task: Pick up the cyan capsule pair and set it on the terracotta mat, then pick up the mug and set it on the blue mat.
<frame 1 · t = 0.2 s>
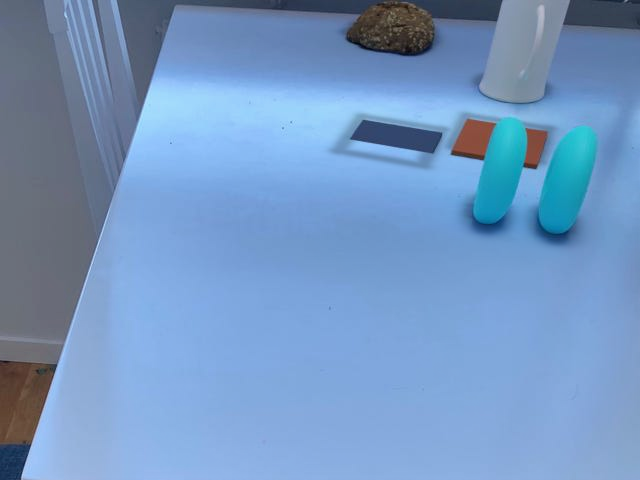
mug: (510, 97, 125), on the table
terracotta mat: (499, 144, 114), on the table
bread roll: (389, 41, 140), on the table
blue mat: (391, 147, 113), on the table
cyan capsule pair: (517, 227, 100), on the table
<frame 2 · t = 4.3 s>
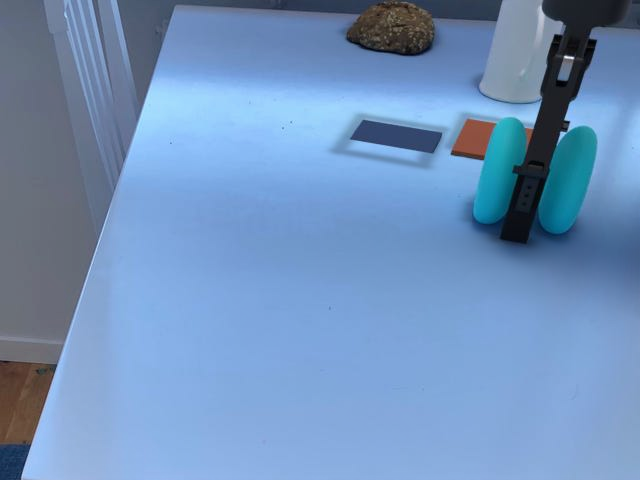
hand: (520, 217, 99), 1 cm above the table, tool pointing down, fingers closed on cyan capsule pair, 10 cm apart
cyan capsule pair: (517, 227, 100), on the table, touching gripper
everything else where it was.
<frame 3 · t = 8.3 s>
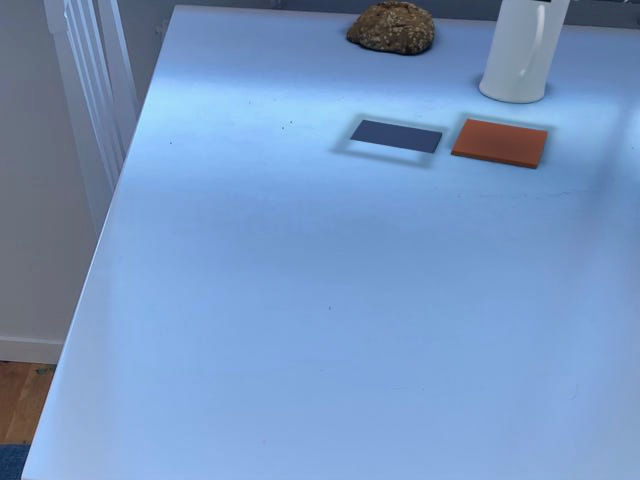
when the fingers open (1 cm above the table, at t = 12.2 s): cyan capsule pair stays where it is, resting on terracotta mat.
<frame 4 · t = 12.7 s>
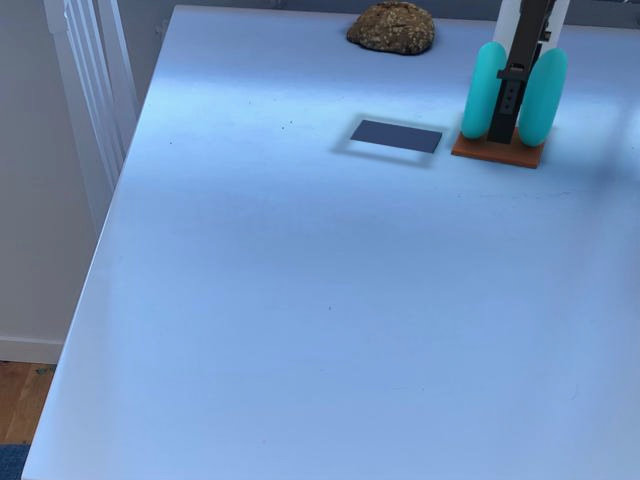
hand: (506, 121, 112), 3 cm above the table, tool pointing down, fingers open, 13 cm apart
cyan capsule pair: (499, 141, 114), resting on terracotta mat
everything else where it was.
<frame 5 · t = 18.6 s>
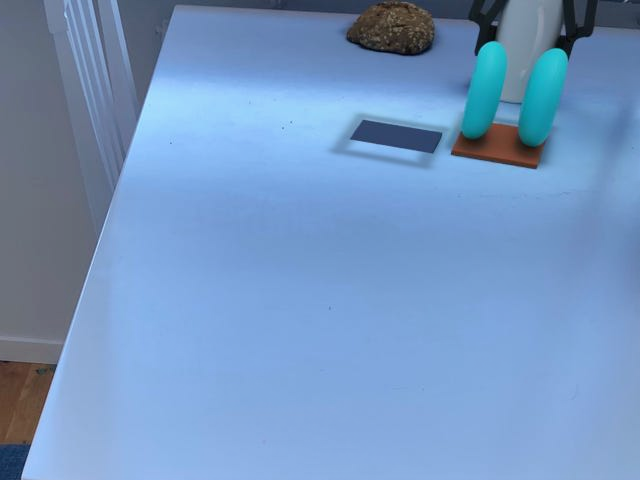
hand: (512, 89, 125), 1 cm above the table, tool pointing down, fingers closed on mug, 8 cm apart
mug: (511, 98, 125), on the table, touching gripper
everything else where it was.
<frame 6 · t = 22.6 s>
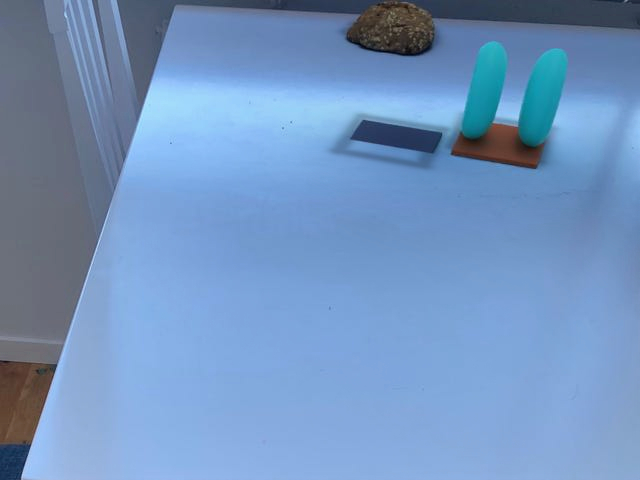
when the fingers open (1 cm above the table, at t = 26.9 s): mug stays where it is, resting on blue mat.
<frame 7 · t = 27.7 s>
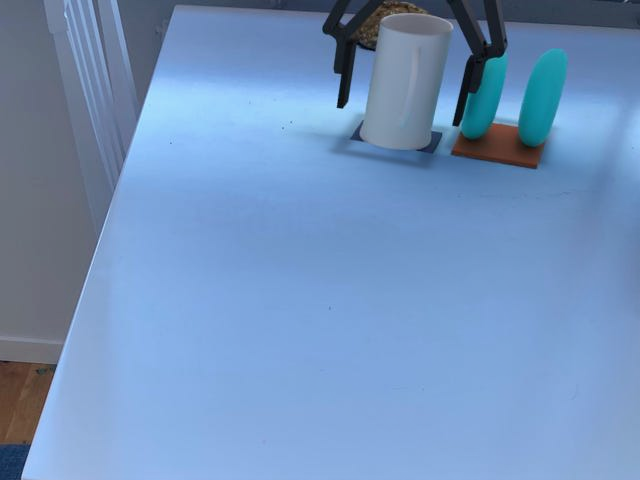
hand: (398, 113, 110), 4 cm above the table, tool pointing down, fingers open, 13 cm apart
mug: (393, 145, 113), resting on blue mat
everything else where it was.
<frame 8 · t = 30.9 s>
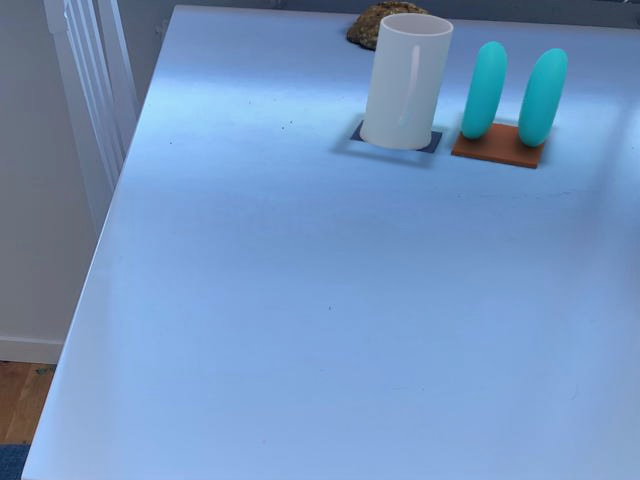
nothing on the table moved.
at the end: cyan capsule pair inside the target area on the terracotta mat (0.1 cm from its centre), point 0.3 cm above the terracotta mat's base; mug inside the target area on the blue mat (0.3 cm from its centre), point 0.3 cm above the blue mat's base; mug tilted 0° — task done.
